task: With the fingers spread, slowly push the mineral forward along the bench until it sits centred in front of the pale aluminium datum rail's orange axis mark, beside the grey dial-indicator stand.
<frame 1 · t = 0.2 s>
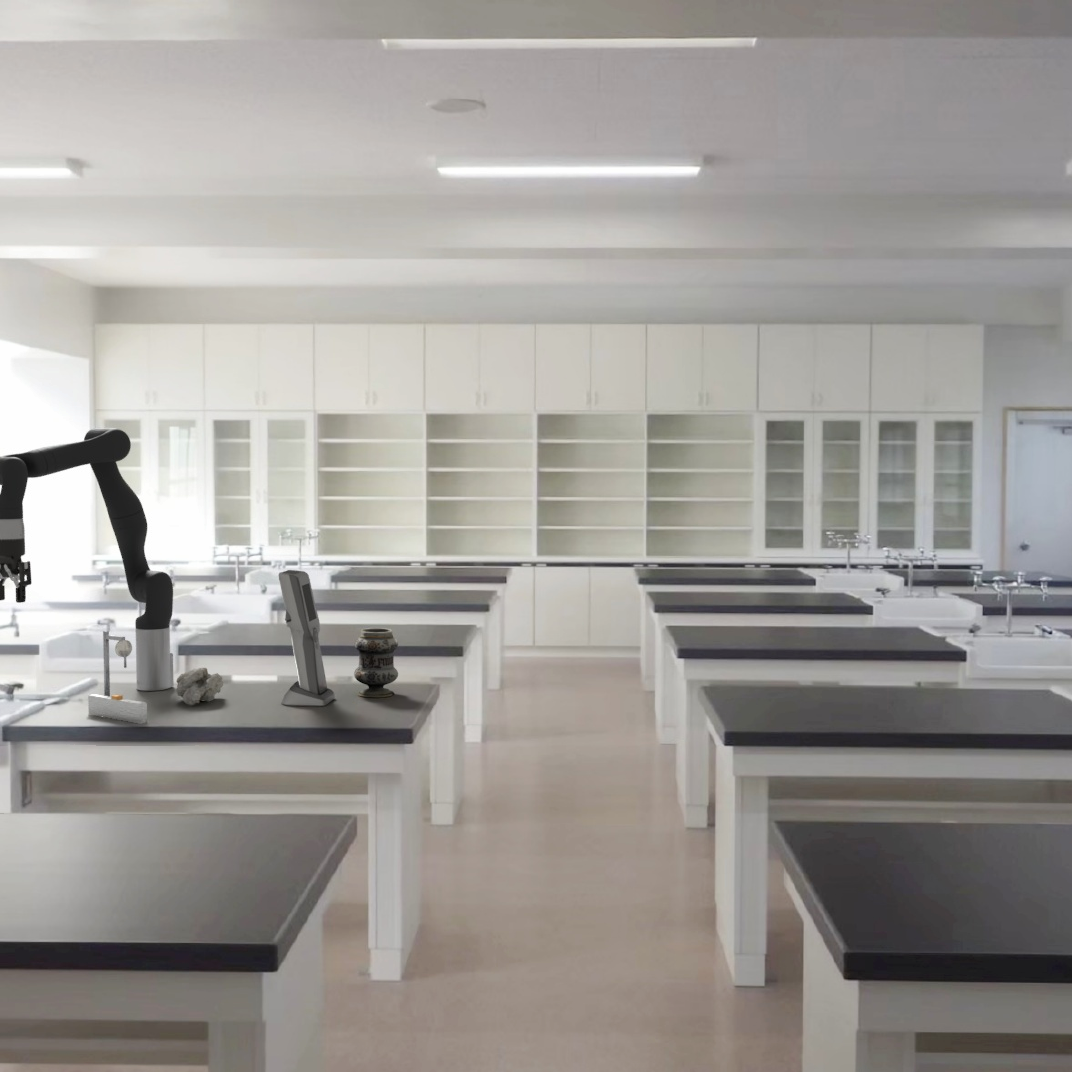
hand: (10, 601, 318), 29 cm above the table, fingers open, 8 cm apart
mineral: (198, 702, 338), on the table
thermal camera: (309, 702, 338), on the table
apothecary jar: (376, 695, 349), on the table
dial indicator stand: (107, 704, 334), on the table
datum rail: (117, 718, 316), on the table
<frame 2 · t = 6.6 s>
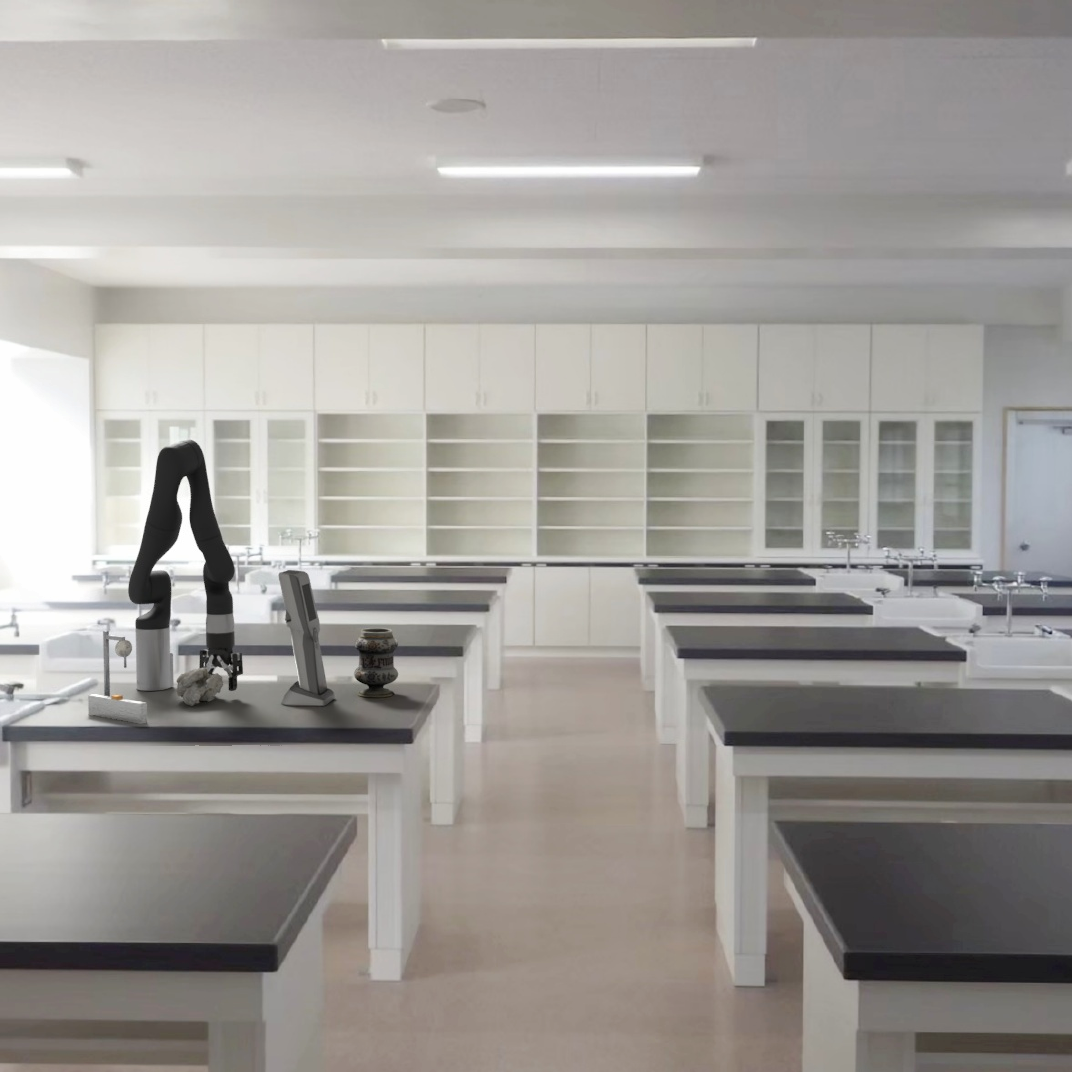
hand: (221, 689, 345), 2 cm above the table, fingers open, 8 cm apart
mineral: (198, 702, 338), on the table, touching gripper
everything else where it was.
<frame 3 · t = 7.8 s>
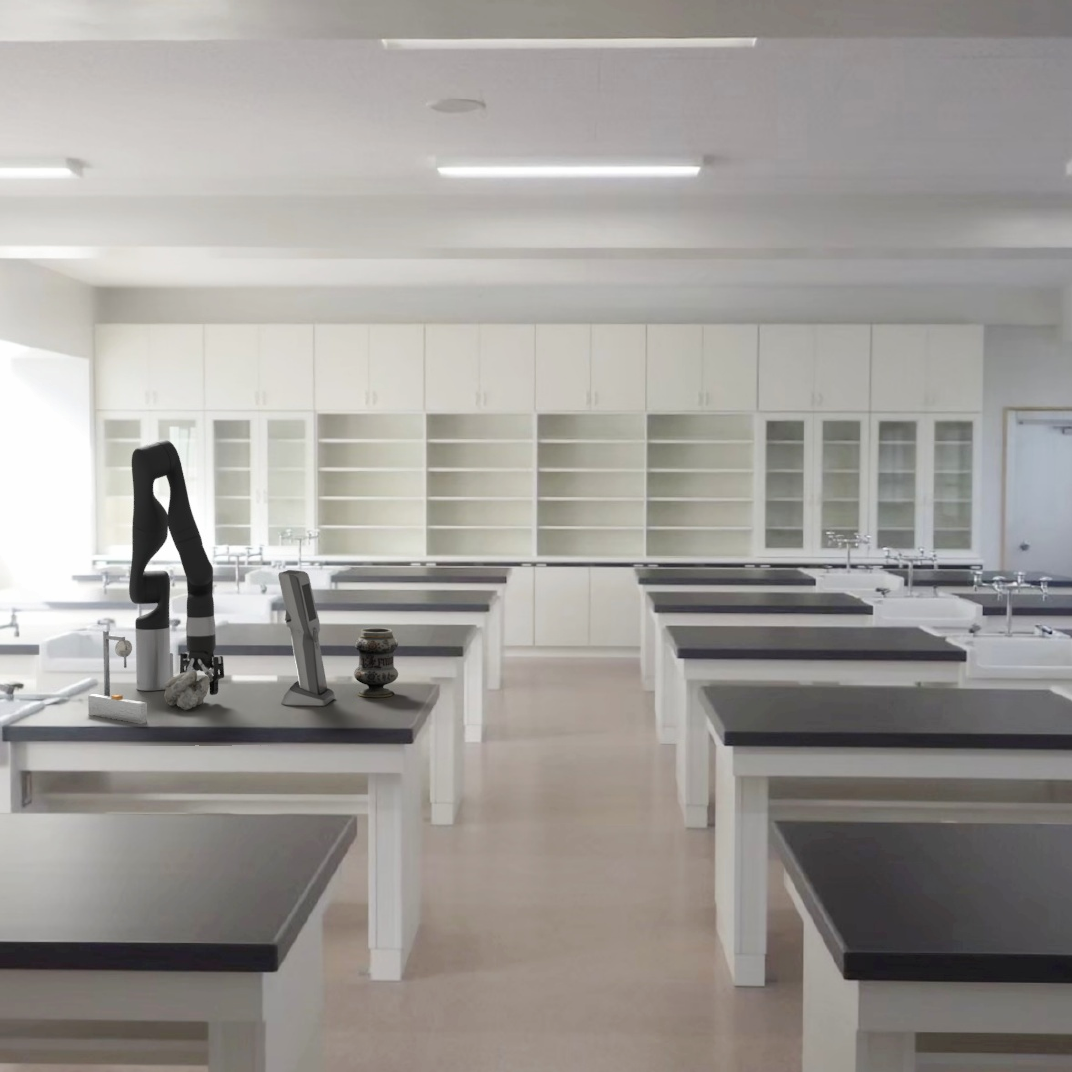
hand: (202, 693, 339), 2 cm above the table
mineral: (187, 706, 332), on the table, touching gripper
everything else where it was.
when the fingers open (2 cm above the table, at t = 10.0 s): mineral stays where it is, on the table.
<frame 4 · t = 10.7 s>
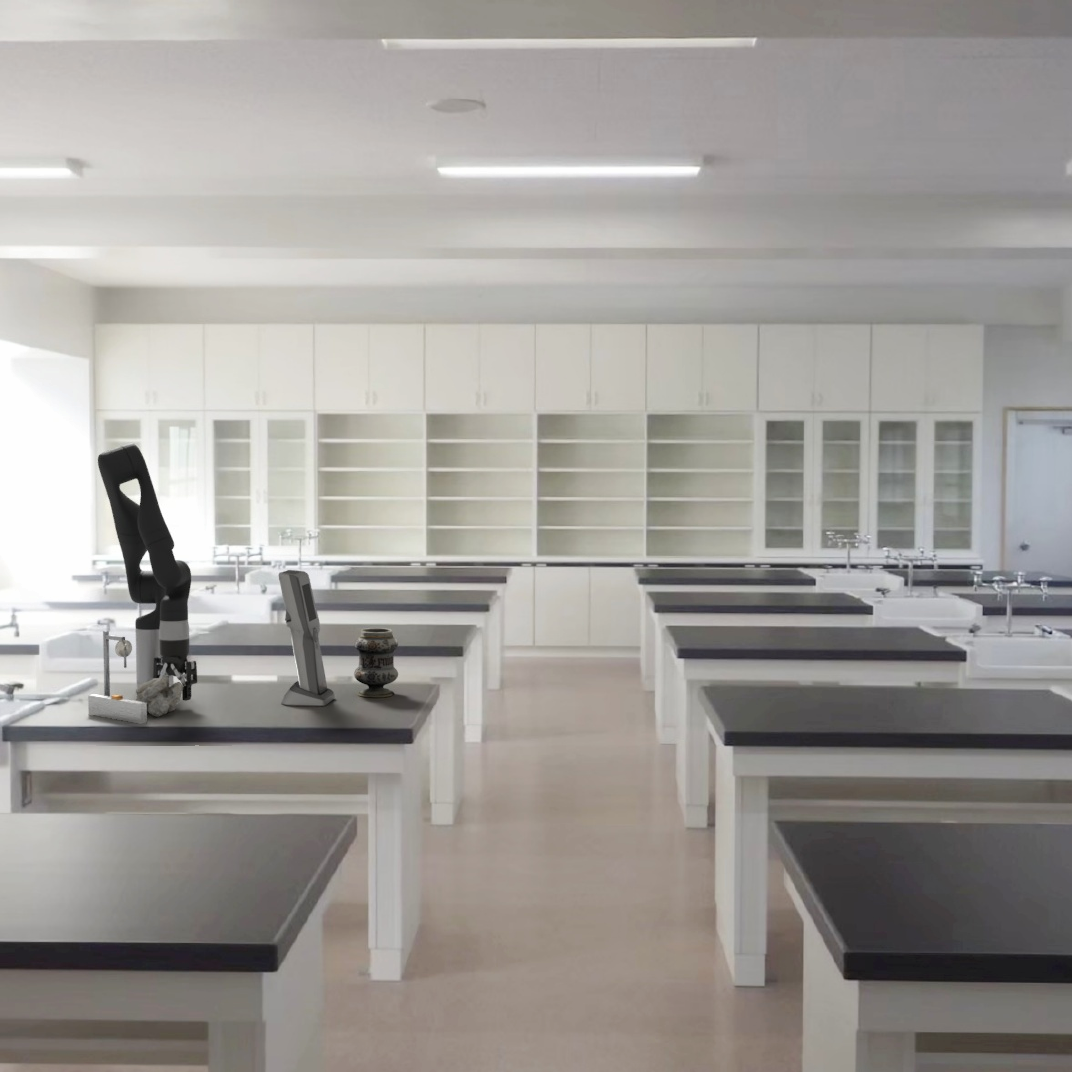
hand: (175, 698, 332), 2 cm above the table, fingers open, 8 cm apart
mineral: (159, 713, 324), on the table
everything else where it was.
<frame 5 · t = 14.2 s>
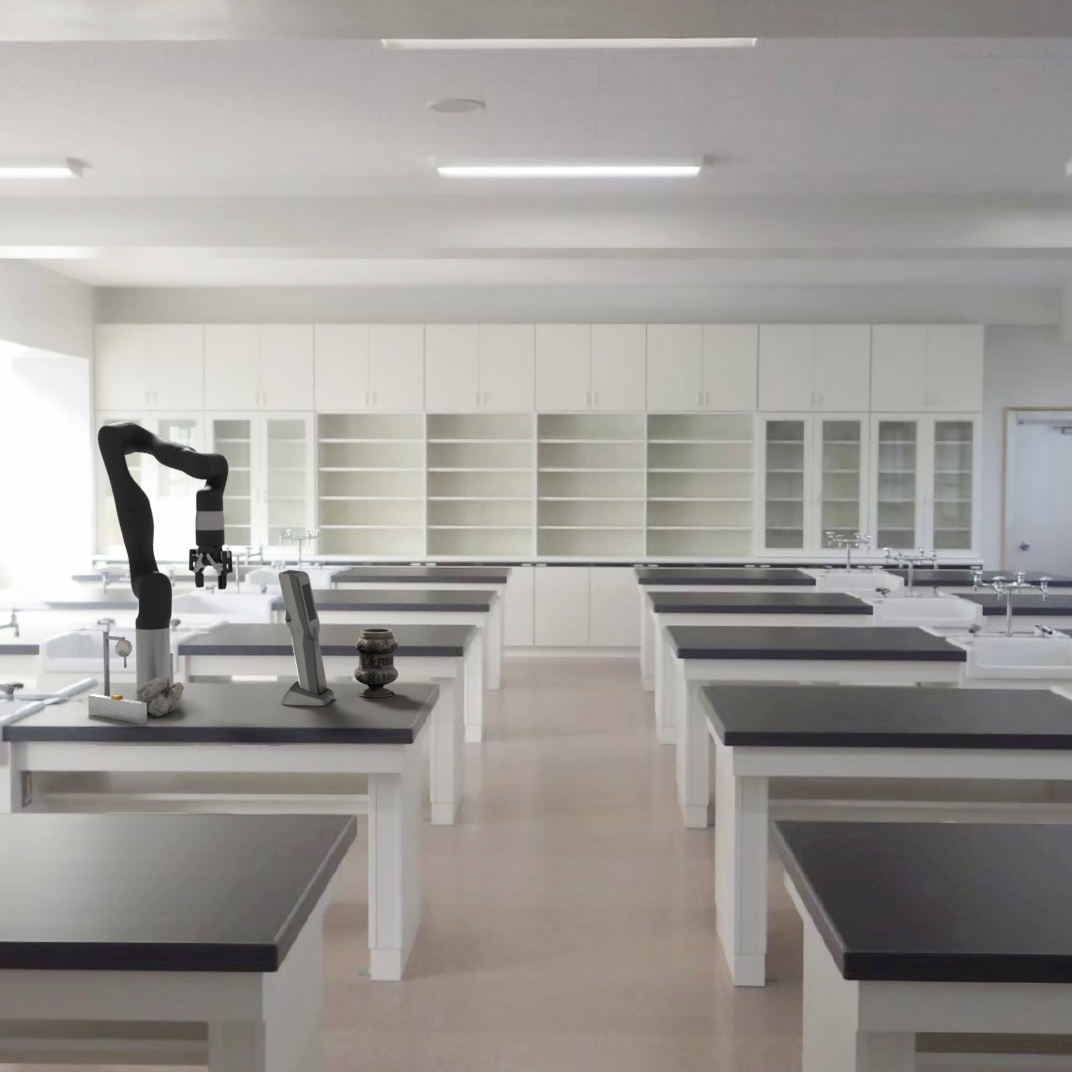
hand: (210, 588, 339), 30 cm above the table, fingers open, 8 cm apart
nothing on the table moved.
at the end: mineral inside the target area (2.5 cm from its centre), on the table; mineral tilted 0° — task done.
